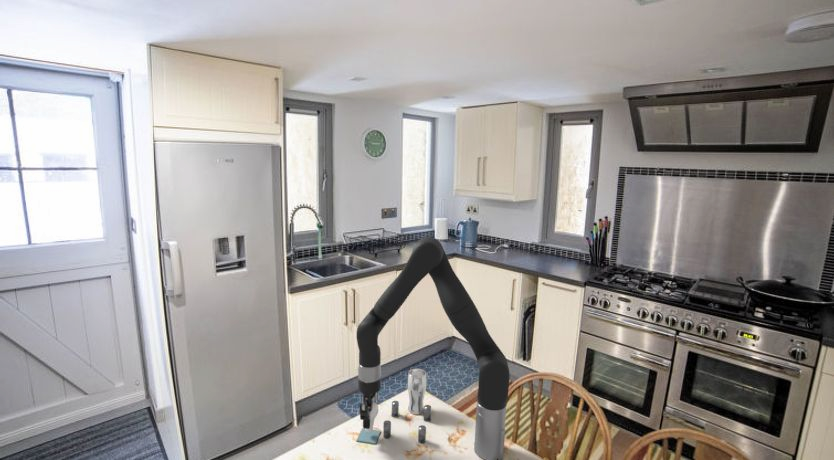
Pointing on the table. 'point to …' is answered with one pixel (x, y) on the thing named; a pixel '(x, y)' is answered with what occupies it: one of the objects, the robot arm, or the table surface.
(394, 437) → the table surface
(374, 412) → the lightbulb
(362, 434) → the mat
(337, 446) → the table surface
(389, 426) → the spacers
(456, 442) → the table surface
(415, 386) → the beer glass
